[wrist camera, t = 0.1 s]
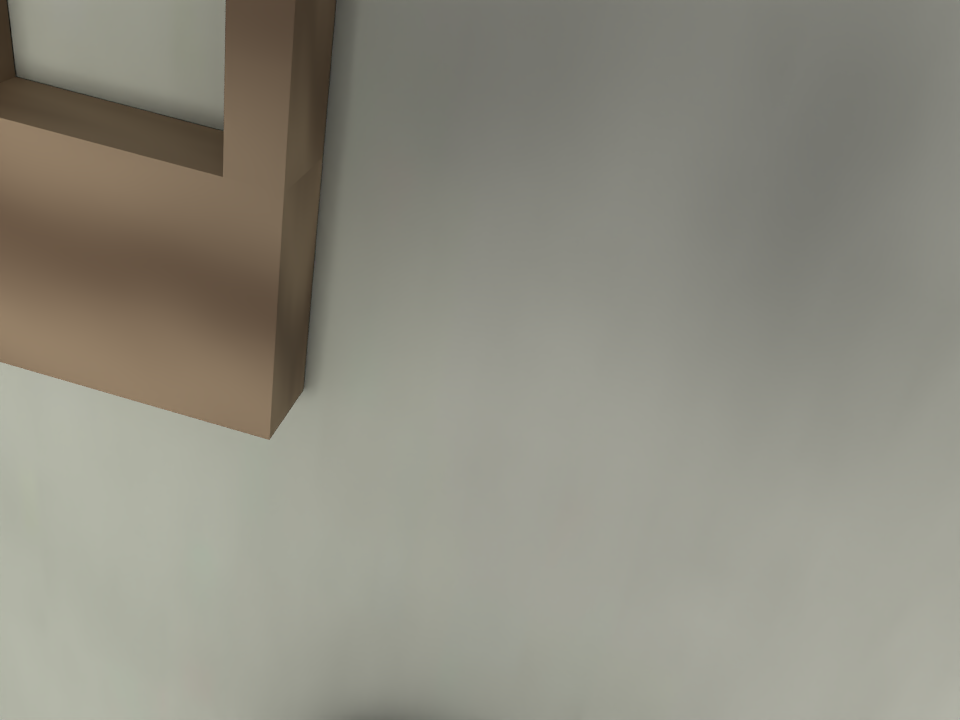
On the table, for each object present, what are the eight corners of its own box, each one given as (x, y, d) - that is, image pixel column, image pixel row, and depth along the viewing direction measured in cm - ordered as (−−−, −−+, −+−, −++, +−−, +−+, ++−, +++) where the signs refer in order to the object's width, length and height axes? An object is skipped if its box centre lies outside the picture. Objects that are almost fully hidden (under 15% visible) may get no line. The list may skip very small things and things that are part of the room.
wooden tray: (303, 390, 26) (269, 439, 24) (-1, 303, 27) (-59, 344, 25) (356, -242, 18) (310, -248, 15) (-98, -343, 18) (-200, -362, 16)
